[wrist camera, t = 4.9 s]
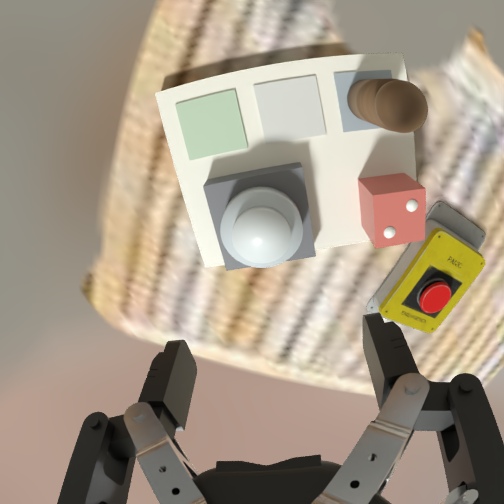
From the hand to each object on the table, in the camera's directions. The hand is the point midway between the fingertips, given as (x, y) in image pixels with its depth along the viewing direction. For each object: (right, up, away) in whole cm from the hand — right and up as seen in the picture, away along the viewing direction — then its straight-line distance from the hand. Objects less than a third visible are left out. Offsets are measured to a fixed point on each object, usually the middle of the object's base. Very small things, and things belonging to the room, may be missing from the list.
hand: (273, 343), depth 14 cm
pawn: (+8, +16, +9) cm, 20 cm away
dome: (0, +7, +14) cm, 16 cm away
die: (+11, +9, +13) cm, 19 cm away
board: (+3, +12, +14) cm, 19 cm away
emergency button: (+19, +2, +19) cm, 27 cm away
